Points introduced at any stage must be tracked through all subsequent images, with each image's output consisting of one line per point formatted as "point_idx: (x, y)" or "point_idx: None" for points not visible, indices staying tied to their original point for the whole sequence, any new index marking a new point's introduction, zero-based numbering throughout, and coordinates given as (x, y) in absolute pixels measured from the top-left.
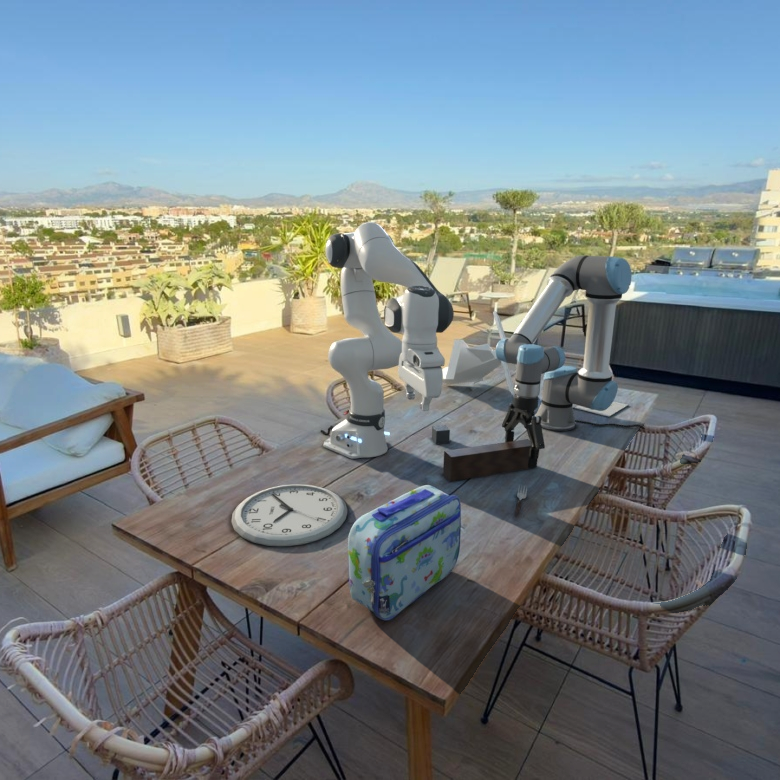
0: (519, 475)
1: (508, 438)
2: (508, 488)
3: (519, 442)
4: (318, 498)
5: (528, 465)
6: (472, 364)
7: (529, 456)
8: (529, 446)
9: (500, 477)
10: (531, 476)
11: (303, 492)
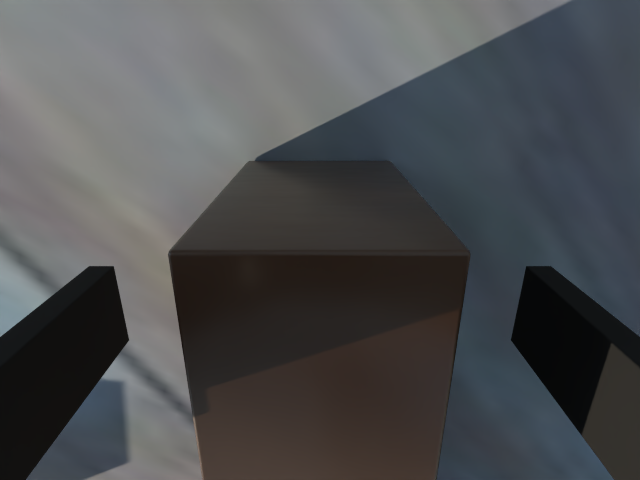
0: None
1: (36, 434)
2: (558, 475)
3: (276, 442)
4: None
5: (526, 351)
6: None
7: (585, 428)
8: (450, 379)
9: None
10: (506, 273)
11: None
